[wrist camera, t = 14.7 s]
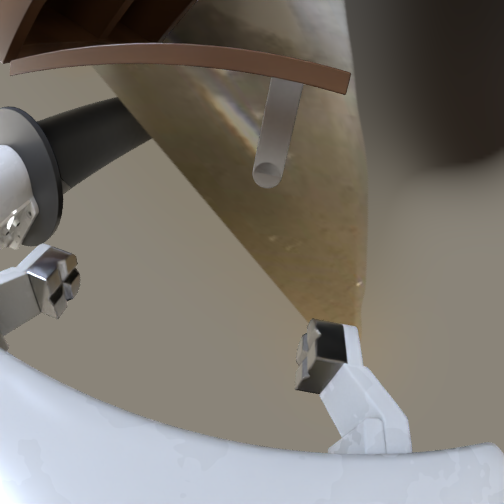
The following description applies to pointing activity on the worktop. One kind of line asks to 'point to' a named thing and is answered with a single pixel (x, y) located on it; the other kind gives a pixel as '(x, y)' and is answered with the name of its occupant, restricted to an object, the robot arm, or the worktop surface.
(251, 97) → the worktop surface
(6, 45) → the cupboard
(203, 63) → the cupboard door
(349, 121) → the worktop surface
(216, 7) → the worktop surface
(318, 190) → the worktop surface
